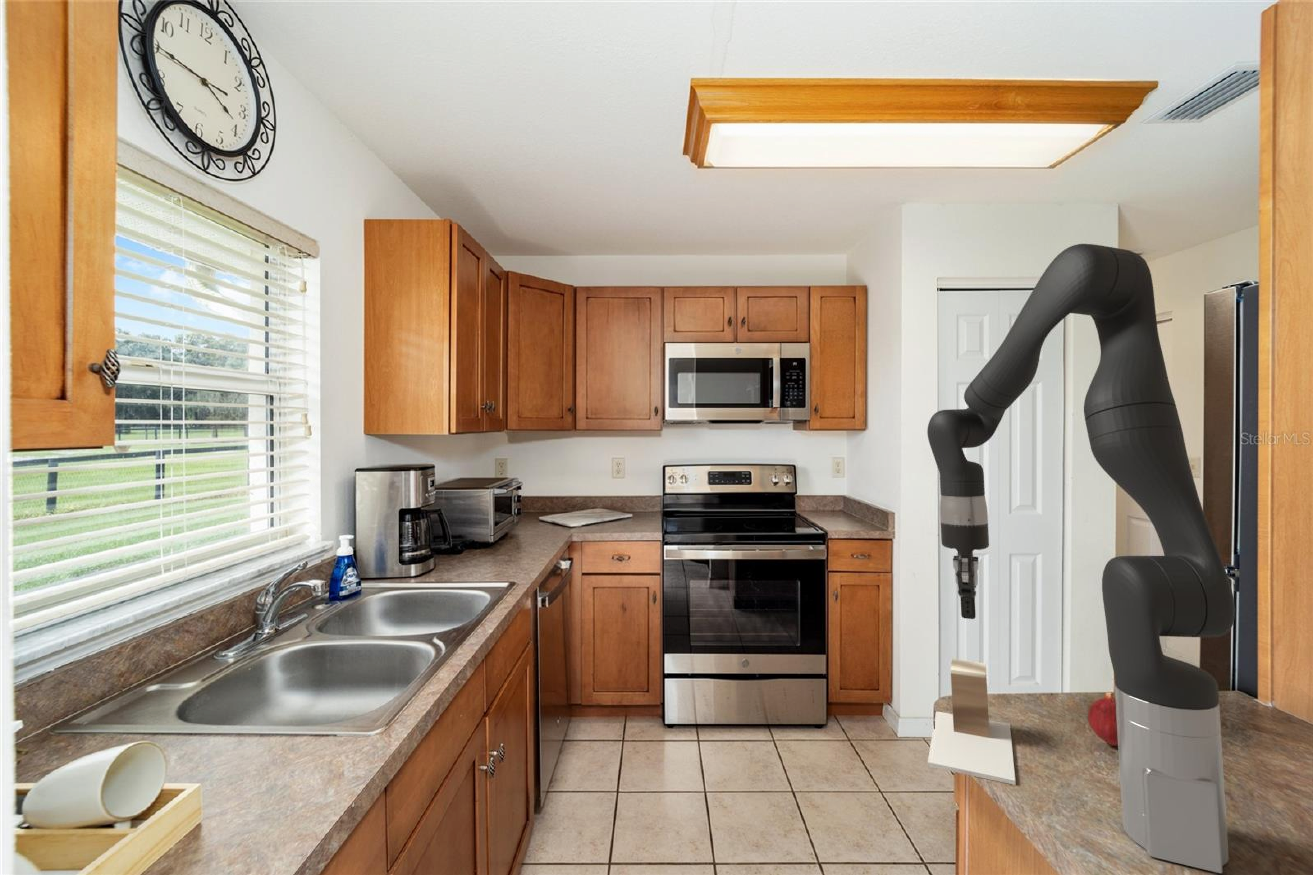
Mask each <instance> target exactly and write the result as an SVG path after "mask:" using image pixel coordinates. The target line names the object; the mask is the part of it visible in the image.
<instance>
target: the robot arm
mask: <svg viewBox="0 0 1313 875" xmlns="http://www.w3.org/2000/svg"><path fill="white" fill-rule="evenodd" d="M1156 312H1157V310H1156V302H1155V292H1154V284H1153V277H1152V273H1151V270H1150V268H1149V264H1148V263H1147V261H1146V260H1145V259H1144V258H1143V256H1141V255H1140V254H1138V253H1136V252H1134V251H1132V250H1129V249H1124V248H1118V247H1113V246H1105V245H1102V244H1101V245H1100V244H1094V243H1078V244H1074V245H1070V246H1069V247H1067V248H1065V249H1064V250H1063V251H1061V252H1060V253H1058V254H1057V256H1056V257H1055V258H1053V260H1052V261H1051V262H1050V263H1049V265H1048V266H1047V268H1046V269H1045V270H1044V272H1043V273H1042V275H1041V276H1040V278H1039V279H1038V281H1037V283H1036V284H1035V286H1034V288H1033V289H1032V292H1031V293H1030V294H1029V297H1028V299H1027V301H1026V302H1025V303H1024V305H1023V307H1022V308H1021V310H1020V312H1019V313H1018V315H1017V316H1016V319H1015V320H1014V322H1013V324H1012V325H1011V327H1010V330H1009V331H1008V333H1007V335H1006V336H1005V338H1004V340H1003V341H1002V342H1001V344H1000V346H999V347H998V348H997V350H996V351H995V353H994V354H993V355H992V356H991V358H990V359H989V360H988V362H987V363H986V364H985V365H984V367H983V368H982V369H981V370H980V371H979V373H978V374H977V375H976V376H975V377H974V378H973V380H972V381H970V383H969V385H968V386H967V387H966V389H965V391H964V394H963V399H964V402H965V404H966V405H967V406H968V407H967V408H963V409H960V408H958V409H941V410H938V411H937V412H935V413H933V415H932V416H931V417H930V420H929V421H928V424H927V429H926V430H927V433H926V434H927V440H928V443H929V445H930V450H931V452H932V455H933V458H934V461H935V464H936V467H937V470H938V472H939V487H940V500H939V502H940V503H939V516H940V517H939V518H940V537H941V538H940V540H941V545H942V546H943V547H945V548H947V549H953V550H954V549H955V550H956V551H957V555H953V558H952V567H953V569H954V572H955V573H954V576H955V584H956V585H957V588H958V590H957V594H958V596H959V599H960V611H961V612H960V616H961V617H962V618H963V619H969V620H975V619H976V615H977V614H976V597H977V591H976V588H977V586H978V583H979V582H978V580H979V578H978V570H979V565H980V564H979V556H974V551H976V550H977V551H981V550H985V549H988V548H989V547H990V537H989V520H988V519H989V517H988V514H989V513H988V506H987V499H986V495H985V494H986V491H985V474H984V468H983V467H982V465H981V464H979V462H978V463H977V462H975V461H970V460H968V459H967V457H966V455H965V453H964V449H969V448H970V449H972V448H978V447H981V446H982V445H984V444H985V443H987V442H988V441H990V439H991V438H992V437H993V436H994V434H995V432H996V431H997V429H998V427H999V425H1000V423H1001V421H1002V420H1003V417H1004V415H1005V412H1006V411H1007V409H1009V407H1011V406H1012V405H1013V403H1014V402H1015V401H1016V400H1017V399H1018V398H1019V397H1020V396H1021V395H1022V394H1023V393H1024V392H1025V391H1026V390H1027V388H1028V387H1029V386H1030V385H1031V383H1032V381H1033V380H1034V379H1035V376H1036V373H1037V370H1038V367H1039V363H1040V359H1041V358H1040V357H1041V353H1042V348H1043V344H1044V342H1045V341H1046V339H1047V337H1048V335H1050V333H1051V331H1052V330H1054V329H1055V328H1056V327H1057V325H1058V324H1059V323H1060V322H1062V321H1063V320H1064V319H1065V318H1066V317H1067V316H1069V315H1070V314H1075V315H1083V316H1089V317H1091V318H1092V320H1093V322H1094V324H1095V328H1096V331H1097V335H1098V341H1099V345H1100V358H1099V363H1098V365H1097V368H1096V371H1095V373H1094V376H1093V377H1092V379H1091V382H1090V384H1089V387H1088V389H1087V392H1086V395H1085V397H1084V402H1083V414H1084V416H1083V417H1084V422H1085V427H1086V432H1087V436H1088V441H1089V446H1090V450H1091V453H1092V455H1093V457H1094V459H1095V461H1096V462H1097V464H1098V465H1099V466H1100V467H1101V469H1102V470H1103V471H1104V472H1105V473H1106V474H1107V475H1108V476H1109V477H1110V478H1111V479H1112V481H1114V482H1115V483H1116V484H1117V485H1118V486H1119V487H1120V488H1121V489H1122V490H1123V491H1124V492H1125V493H1126V494H1127V495H1128V496H1130V498H1132V499H1133V501H1134V502H1135V503H1136V504H1137V505H1138V506H1140V508H1141V510H1142V511H1143V512H1144V513H1145V515H1146V516H1147V517H1148V519H1149V520H1150V522H1151V524H1152V526H1153V527H1154V530H1155V532H1156V534H1157V537H1158V540H1159V542H1160V545H1161V548H1162V551H1163V555H1121V556H1115V557H1112V558H1110V560H1108V562H1106V564H1105V566H1104V569H1103V571H1102V576H1101V592H1102V593H1101V594H1102V601H1103V609H1104V610H1103V611H1104V616H1105V625H1106V634H1107V646H1108V652H1109V658H1110V661H1111V662H1110V663H1111V666H1112V671H1113V676H1114V679H1113V680H1114V697H1115V699H1116V717H1117V734H1118V745H1117V750H1118V752H1117V753H1118V764H1119V765H1118V766H1119V782H1120V783H1119V784H1120V785H1119V786H1120V799H1121V815H1122V816H1121V817H1122V827H1123V830H1124V832H1125V833H1126V834H1127V835H1128V837H1130V838H1129V839H1131V840H1132V841H1134V842H1135V843H1136V844H1138V845H1139V846H1141V847H1142V848H1143V849H1144V850H1145V851H1146V852H1147V854H1148V856H1150V857H1152V858H1155V859H1160V860H1164V861H1168V862H1171V863H1177V864H1181V865H1185V866H1188V867H1192V868H1196V869H1201V870H1205V871H1209V872H1213V873H1218V874H1223V872H1224V871H1223V867H1224V865H1225V866H1226V864H1227V863H1228V862H1229V857H1230V856H1229V842H1228V840H1229V839H1228V827H1227V826H1228V824H1227V813H1226V798H1225V797H1226V796H1225V781H1224V765H1223V761H1224V760H1223V749H1222V731H1221V729H1222V728H1221V726H1222V725H1221V715H1220V714H1221V713H1220V710H1221V709H1220V696H1219V694H1220V693H1219V685H1218V682H1217V680H1216V679H1215V677H1214V676H1213V675H1212V674H1211V673H1210V672H1208V671H1206V670H1204V669H1203V668H1201V667H1198V666H1197V665H1195V664H1192V663H1189V662H1186V661H1183V660H1180V659H1177V658H1174V657H1170V656H1168V655H1166V654H1164V653H1163V649H1162V645H1161V640H1160V637H1170V638H1171V637H1176V638H1219V637H1223V636H1225V635H1226V634H1228V633H1229V632H1230V631H1231V629H1232V627H1233V625H1234V622H1235V617H1236V616H1235V614H1236V608H1235V599H1234V598H1235V597H1234V593H1233V589H1232V586H1231V583H1230V580H1229V577H1228V574H1227V570H1226V567H1225V566H1224V563H1223V560H1222V557H1221V555H1220V552H1219V550H1218V547H1217V544H1216V541H1215V539H1214V537H1213V534H1212V531H1211V529H1210V526H1209V523H1208V520H1207V518H1206V515H1205V512H1204V509H1203V506H1202V503H1201V501H1200V500H1201V499H1200V498H1199V494H1198V491H1197V487H1196V483H1195V479H1194V477H1193V472H1192V468H1191V464H1190V460H1189V456H1188V452H1187V447H1186V442H1185V438H1184V431H1183V427H1182V424H1181V420H1180V416H1179V413H1178V408H1177V405H1176V401H1175V398H1174V394H1173V392H1172V388H1171V385H1170V384H1171V383H1170V381H1169V377H1168V372H1167V368H1166V362H1165V358H1164V354H1163V353H1164V352H1163V350H1162V346H1161V341H1160V336H1159V331H1158V330H1159V328H1158V321H1157V313H1156Z"/></svg>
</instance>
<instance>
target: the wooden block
mask: <svg viewBox="0 0 1313 875" xmlns="http://www.w3.org/2000/svg"><path fill="white" fill-rule="evenodd" d="M950 663H951V665H950V684H951V685H950V686H951V701H952V702H951V703H952V704H951V705H952V714H953V726H954V732H959V733H965V734H970V735H975V736H981V737H986V738H989V721H990V720H989V700H988V682H987V681H988V680H987V665H986V664H987V663H984V662H975V661H969V660H961V659H953V658H952V659H951V662H950Z"/></svg>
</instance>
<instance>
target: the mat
mask: <svg viewBox="0 0 1313 875" xmlns="http://www.w3.org/2000/svg"><path fill="white" fill-rule="evenodd" d="M934 721H935V729H934V726H933V727H932V734H931V740H930V746H929V752H928V757H927V767H930V768H935V769H939V770H944V771H949V772H952V773H957V774H963V775H967V776H972V777H977V778H982V779H984V780H991V781H995V782H999V783H1000V782H1001V783H1004V784H1007V785H1008V784H1010V785H1014V786H1016V774H1015V773H1016V772H1015V765H1014V754H1013V744H1012V742H1013V741H1012V734H1011V724H1010V723H1006V722H1001V721H1000V722H999V721H994V720H989V738H986V737H981V736H975V735H970V734H965V733H959V732H954V726H953V713H948V712H947V713H946V712H941V711H935V717H934Z"/></svg>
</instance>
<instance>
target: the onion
mask: <svg viewBox="0 0 1313 875" xmlns="http://www.w3.org/2000/svg"><path fill="white" fill-rule="evenodd" d="M1087 721H1088V723H1089V724H1088V725H1089V726H1090V728H1091V729H1092V730H1093V732H1094V733H1095V735H1097V736H1098V738H1099V739H1101V740H1103V741H1104V742H1105V743H1106V744H1108V745H1109V746H1112V747H1116V746H1117V747H1118V734H1117V717H1116V697H1115V693H1114V694H1113V693H1112V692H1109V691H1108V692H1105V696H1104V697H1103V698H1100V699H1097V700H1096V701H1094V702H1093V703H1092V704H1091V705H1090V707H1089V709H1088V712H1087Z"/></svg>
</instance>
